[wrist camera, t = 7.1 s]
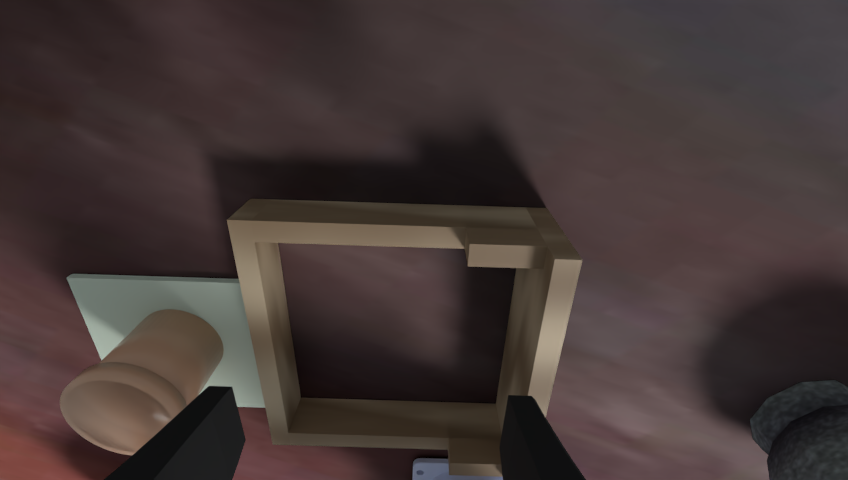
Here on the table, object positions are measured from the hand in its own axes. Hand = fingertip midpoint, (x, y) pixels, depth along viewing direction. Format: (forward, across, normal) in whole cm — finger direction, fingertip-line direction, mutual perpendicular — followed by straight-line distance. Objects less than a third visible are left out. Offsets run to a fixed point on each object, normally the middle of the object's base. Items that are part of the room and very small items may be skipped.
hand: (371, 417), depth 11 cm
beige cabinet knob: (+10, +12, +7) cm, 17 cm away
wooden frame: (+10, 0, +5) cm, 12 cm away
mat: (+10, +12, +7) cm, 18 cm away
